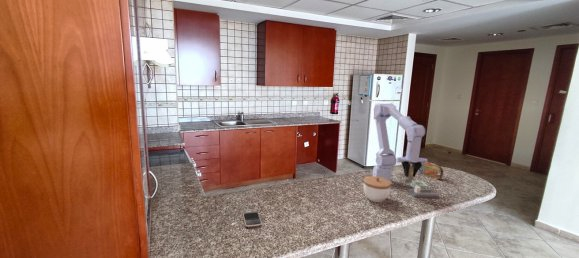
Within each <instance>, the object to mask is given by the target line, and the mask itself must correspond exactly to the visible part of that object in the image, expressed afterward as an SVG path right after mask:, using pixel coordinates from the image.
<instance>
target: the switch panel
mask: <svg viewBox="0 0 579 258" xmlns="http://www.w3.org/2000/svg"><path fill="white" fill-rule="evenodd" d="M407 192H408V193H409V194H410V195H412V196H413V197H414V198H430V199H431V198H432V199H433V198H435V199H437V198H438V199H439V195H438V194H437V192H434V190H432V188H428V189H421V190H420V193H415V192H414V188H407Z"/></svg>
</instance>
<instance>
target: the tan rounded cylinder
mask: <svg viewBox="0 0 579 258" xmlns="http://www.w3.org/2000/svg"><path fill="white" fill-rule="evenodd" d="M413 172H414V166H412V164H410V168H409V172H408V177H406V176H405V183H408V184H411V183H412V181H413V180H414V179H413V178H414V177H413Z"/></svg>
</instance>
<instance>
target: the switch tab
mask: <svg viewBox="0 0 579 258" xmlns="http://www.w3.org/2000/svg"><path fill="white" fill-rule="evenodd" d="M413 189H414V192H415V193H420V190H421V187H419V186H415V188H413Z"/></svg>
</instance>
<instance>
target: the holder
mask: <svg viewBox="0 0 579 258" xmlns="http://www.w3.org/2000/svg"><path fill="white" fill-rule="evenodd" d="M410 186H411V188H412V189H414V188H415V186H419V187H421V189H429V185H428V184H426V183H425V182H424V181H423V180H412V183H410Z"/></svg>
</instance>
